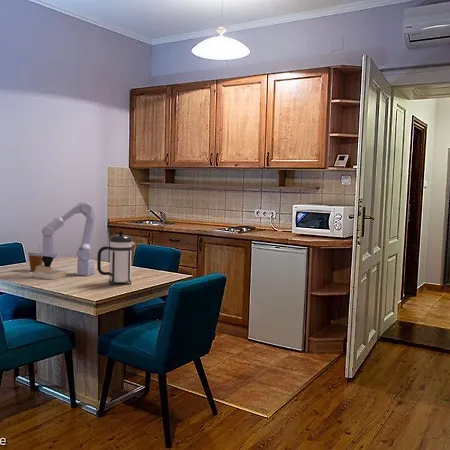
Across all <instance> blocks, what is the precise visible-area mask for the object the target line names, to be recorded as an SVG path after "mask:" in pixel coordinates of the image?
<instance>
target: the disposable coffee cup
mask: <svg viewBox="0 0 450 450" xmlns="http://www.w3.org/2000/svg"><path fill="white" fill-rule="evenodd" d="M36 253H43V250H30V251H28V253H27V254H28V259H29V267H30V271H31V272H34V271H35V268H36V266H39V265H43V264H44V263H43V261H42V259H41V258H43V257H41V256H36ZM35 272H36V271H35Z"/></svg>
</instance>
